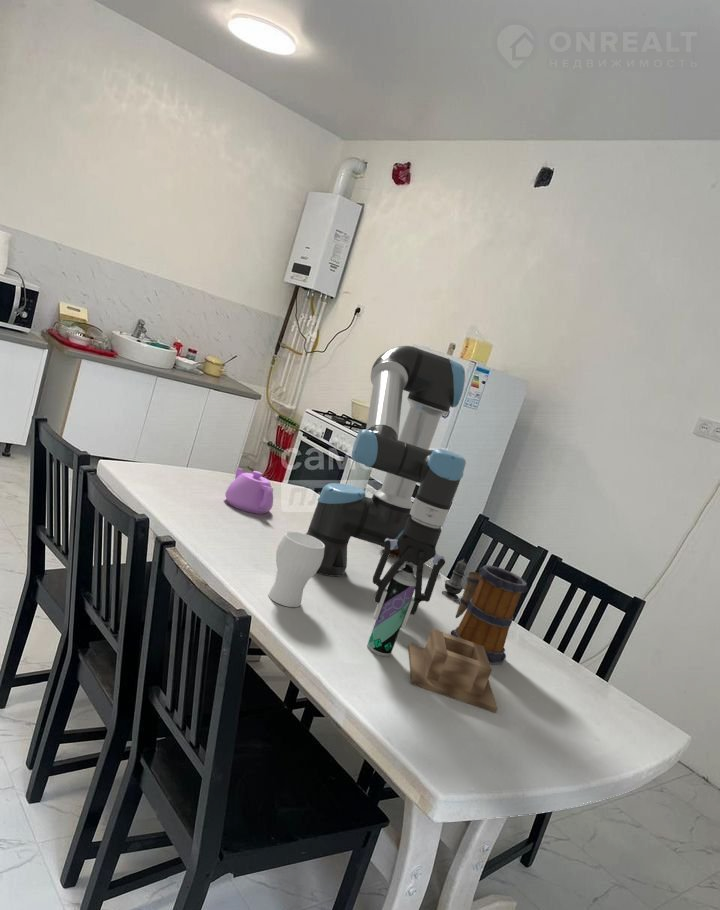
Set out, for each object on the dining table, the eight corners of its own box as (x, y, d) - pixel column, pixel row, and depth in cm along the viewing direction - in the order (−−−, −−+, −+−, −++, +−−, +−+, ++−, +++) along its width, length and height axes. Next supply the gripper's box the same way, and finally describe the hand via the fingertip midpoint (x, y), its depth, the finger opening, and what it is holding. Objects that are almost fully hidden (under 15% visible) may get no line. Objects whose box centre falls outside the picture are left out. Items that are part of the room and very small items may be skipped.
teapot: (283, 521, 222) (295, 486, 221) (243, 517, 212) (255, 480, 210) (249, 496, 238) (260, 464, 237) (210, 491, 228) (221, 457, 226)
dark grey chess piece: (459, 602, 202) (473, 564, 200) (440, 594, 203) (454, 557, 201) (460, 596, 208) (473, 559, 206) (441, 589, 208) (455, 552, 207)
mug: (428, 622, 177) (455, 550, 174) (473, 629, 183) (500, 560, 180) (467, 661, 160) (498, 583, 157) (515, 668, 166) (545, 592, 163)
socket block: (411, 683, 139) (423, 652, 138) (408, 647, 156) (418, 619, 155) (496, 712, 139) (508, 681, 138) (483, 672, 157) (494, 644, 156)
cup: (314, 605, 162) (334, 546, 160) (292, 614, 152) (313, 552, 150) (277, 585, 166) (296, 528, 164) (253, 594, 156) (274, 532, 154)
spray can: (365, 640, 152) (396, 557, 149) (389, 647, 153) (419, 564, 150) (368, 652, 146) (399, 565, 144) (392, 659, 147) (424, 573, 144)
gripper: (384, 511, 141) (347, 614, 145) (469, 540, 142) (430, 642, 145) (384, 503, 149) (349, 601, 152) (464, 531, 149) (428, 628, 152)
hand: (389, 621), depth 148 cm, fingers closed on spray can, 5 cm apart
